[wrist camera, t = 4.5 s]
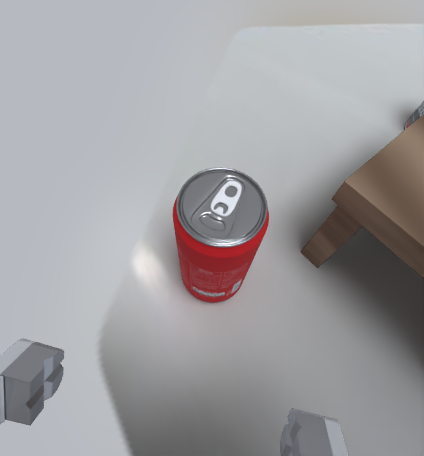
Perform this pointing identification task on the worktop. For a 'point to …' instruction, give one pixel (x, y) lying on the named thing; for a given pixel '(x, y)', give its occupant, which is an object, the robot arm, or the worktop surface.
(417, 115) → the pill bottle
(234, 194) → the beverage can
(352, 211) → the walnut stool
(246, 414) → the worktop surface
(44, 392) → the robot arm
